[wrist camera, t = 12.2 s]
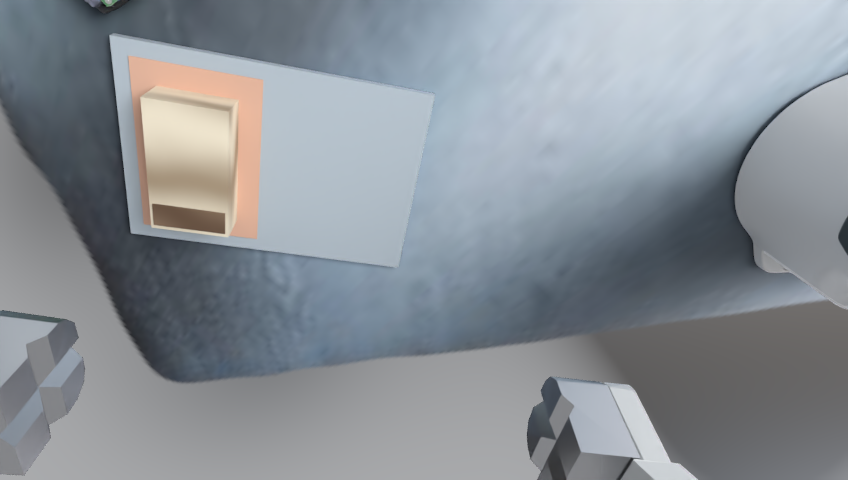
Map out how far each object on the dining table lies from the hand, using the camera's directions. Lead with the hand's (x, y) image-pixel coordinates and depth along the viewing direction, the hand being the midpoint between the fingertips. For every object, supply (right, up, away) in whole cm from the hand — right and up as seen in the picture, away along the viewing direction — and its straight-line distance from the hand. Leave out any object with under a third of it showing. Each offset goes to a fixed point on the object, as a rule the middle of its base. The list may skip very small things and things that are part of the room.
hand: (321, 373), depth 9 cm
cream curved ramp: (-13, +8, +26) cm, 30 cm away
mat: (-9, +8, +27) cm, 29 cm away
